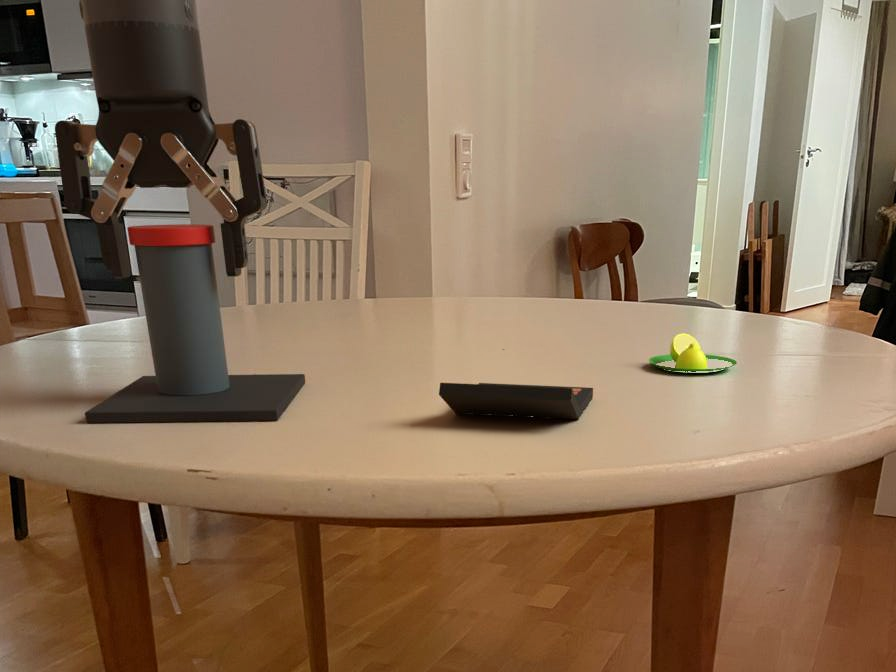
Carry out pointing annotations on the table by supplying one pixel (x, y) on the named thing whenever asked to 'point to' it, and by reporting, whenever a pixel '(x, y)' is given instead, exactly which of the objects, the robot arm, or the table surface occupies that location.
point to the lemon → (687, 356)
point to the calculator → (516, 399)
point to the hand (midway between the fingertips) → (178, 276)
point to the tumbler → (182, 307)
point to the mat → (201, 401)
